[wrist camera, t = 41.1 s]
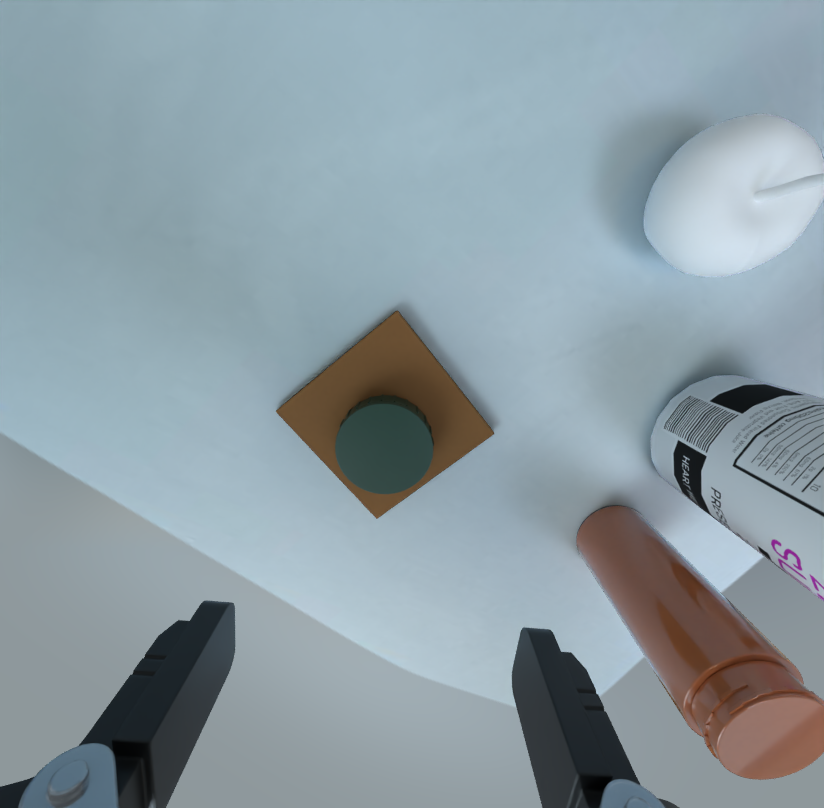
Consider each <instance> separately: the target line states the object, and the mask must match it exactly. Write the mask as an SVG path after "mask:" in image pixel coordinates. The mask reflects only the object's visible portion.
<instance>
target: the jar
mask: <svg viewBox="0 0 824 808" xmlns="http://www.w3.org/2000/svg"><path fill="white" fill-rule="evenodd" d="M576 544H577V549H578V552H579V554H580V556H581V557H582V559H583V560H584V562H585V563H586V565H587V567H588V568H589V570H590V571H591V573H592V574H593V576H594V578H595V579H596V581H597V582H598V584H599V585H600V587H601V589H602V590H603V592H604V593H605V595H606V597H607V598H608V600H609V601H610V603H611V604H612V606H613V608H614V609H615V611H616V612H617V614H618V615H619V617H620V619H621V620H622V622H623V623H624V625H625V626H626V628H627V630H628V631H629V633H630V634H631V636H632V637H633V639H634V641H635V642H636V644H637V645H638V647H639V648H640V650H641V652H642V653H643V655H644V656H645V658H646V659H647V661H648V663H649V664H650V666H651V667H652V669H653V670H654V672H655V674H656V675H657V677H658V678H659V680H660V681H661V683H662V685H663V686H664V688H665V689H666V691H667V692H668V694H669V696H670V697H671V699H672V700H673V702H674V704H675V705H676V706H677V708H678V710H679V711H680V713H681V714H682V716H683V718H684V719H685V721H686V722H687V724H688V725H689V727H690V728H691V729H692V730H694V731H695V732H696V733H697V734H698V735H700V736H702V737H704V740H705V744H706V745H707V747H708V748H709V750H710V751H711V753H712V754H713V755H714V756H715V757H716V758H717V759H719V761H720V762H721V763H722V765H723V766H724V767H725V768H727V769H728V770H729V771H730V772H732V773H734V774H736V775H738V776H741V777H744V778H749V779H758V780H763V779H774V778H779V777H783V776H787V775H790V774H792V773H795V772H797V771H799V770H801V769H803V768H805V767H807V766H808V765H810V764H811V763H813V762H814V761H815V760H816V759H818V757H820V756H821V755H822V754H823V752H824V701H823V700H822V699H821V698H820V697H819V696H817V695H816V694H815V693H814V692H812V691H809V690H808V689H807V688H806V687H805V686H804V683H803V678H802V676H801V674H800V672H799V671H798V669H797V668H796V666H794V664H792V663H791V662H790V661H789V660H788V659H787V658H786V657H785V656H784V655H783V654H782V653H781V652H780V651H779V650H778V649H777V648H776V647H775V646H774V645H773V644H772V643H771V642H770V641H769V640H768V639H767V638H766V637H765V636H764V635H763V634H762V633H761V632H760V631H759V630H758V629H757V628H756V627H755V626H754V625H753V624H752V623H751V622H750V621H749V620H748V619H747V618H746V617H745V616H744V615H743V614H742V613H741V612H740V611H738V609H737V608H736V607H735V606H734V605H733V604H732V603H731V602H730V601H729V600H728V599H727V598H726V597H725V596H724V595H723V594H722V593H720V592H719V591H718V590H717V589H716V588H715V587H714V586H713V585H712V584H711V583H710V582H709V581H708V580H707V579H706V578H705V577H704V576H703V575H702V574H701V573H700V572H699V571H698V570H697V569H696V568H695V567H694V566H693V565H692V564H691V563H690V562H689V561H688V560H687V559H686V558H685V557H684V556H683V555H682V554H681V553H680V552H679V551H678V550H677V549H676V548H675V547H674V546H673V545H672V544H671V543H670V542H669V541H668V540H667V539H666V538H665V537H664V536H663V535H662V534H661V533H660V532H659V531H658V530H657V529H656V528H655V527H654V526H653V525H652V524H650V523H649V522H648V521H647V520H646V519H645V518H644V517H643V516H642V515H641V514H640V513H639V512H638V511H636V510H634V509H632V508H629V507H625V506H609V507H605V508H602V509H600V510H598V511H596V512H594V513H593V514H591V515H590V516H589V517H588V518H587V519H586V520H585V521H584V522H583V523H582V525H581V527H580V528H579V531H578V534H577V539H576Z"/></svg>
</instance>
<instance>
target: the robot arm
mask: <svg viewBox="0 0 824 808" xmlns="http://www.w3.org/2000/svg"><path fill="white" fill-rule="evenodd" d="M234 653H235V606H234V603H229V602H218V601H204V602H203V603H201V605H200V606H199V608H198V609H197V611H196V612H195V614H194V615H193V617H192V618H191V620H190V621H180V620H178V621H177V622H175V623H174V624H173V625H172V626H170V627H169V628H168V629H167V630H165V631H164V632H163V633H162V634H160V635H159V636H158V638H157V639H156V640H155V642H154V643H153V645H152V646H151V647H150V649H149V650H148V651H147V653H146V654H145V657H144V659H142V660H141V661H140V662H139V664H138V665H137V667H136V668H135V670H134V672H133V674H132V675H130V676H129V678H128V679H127V680H126V682H125V683H124V685H123V686H122V687H121V689H120V690H119V692H118V693H117V694H116V696H115V697H114V699H113V700H112V701H111V703H110V704H109V705H108V707H107V708H106V710H105V711H104V712H103V714H102V715H101V717H100V718H99V719H98V721H97V722H96V723H95V725H94V726H93V728H92V729H91V731H90V732H89V733H88V735H87V736H86V737H85V739H84V740H83V741H82V742H81V744H80V745H79V746H77V747H75V748H72V749H70V750H68V751H66V752H64V753H62V754H61V755H59V756H58V757H56V758H55V759H53V760H52V761H51V762H49V764H47V765H46V766H45V767H44V768H42V769H41V770H40V771H39V772H38V773H37V775H36V776H35V777H33V778H30V779H27V780H24V781H21V782H17V783H13V784H10V785H6V786H2V787H0V808H166V806H167V804H168V802H169V800H170V797H171V795H172V793H173V791H174V789H175V787H176V785H177V782H178V780H179V778H180V776H181V774H182V772H183V770H184V768H185V765H186V763H187V761H188V759H189V757H190V755H191V753H192V751H193V748H194V746H195V744H196V742H197V740H198V738H199V736H200V733H201V731H202V729H203V727H204V725H205V723H206V721H207V718H208V716H209V714H210V712H211V710H212V708H213V706H214V704H215V701H216V699H217V697H218V695H219V693H220V691H221V689H222V686H223V684H224V682H225V680H226V678H227V676H228V674H229V671H230V669H231V666H232V662H233V658H234ZM512 688H513V695H514V699H515V703H516V707H517V710H518V714H519V718H520V722H521V726H522V730H523V734H524V738H525V741H526V745H527V749H528V753H529V756H530V761H531V765H532V768H533V772H534V776H535V780H536V784H537V788H538V792H539V796H540V800H541V803H542V807H543V808H665V806H664V805H663V804H662V803H661V802H660V801H659V799H658V798H656V796H654V795H653V794H652V793H651V792H650V791H648V790H647V789H646V788H644V787H643V786H641V785H640V783H639V781H638V779H637V777H636V775H635V773H634V771H633V769H632V767H631V764H630V762H629V760H628V758H627V756H626V754H625V752H624V749H623V747H622V745H621V743H620V741H619V739H618V736H617V734H616V732H615V730H614V728H613V726H612V724H611V721H610V719H609V717H608V715H607V713H606V712H605V711H604V706H603V704H602V702H601V700H600V698H599V696H598V694H596V689H595V687H594V685H593V683H592V681H591V679H590V676H589V674H588V672H587V670H586V669H585V668H584V667H583V666H582V664H581V663H580V662H579V661H578V660H577V659H576V658H575V656H574V655H573V654H572V653H569V652H561V651H560V648H559V646H558V643H557V641H556V639H555V636H554V634H553V632H552V631H551V630H549V629H536V628H522V630H521V633H520V638H519V642H518V647H517V651H516V656H515V660H514V665H513V670H512Z"/></svg>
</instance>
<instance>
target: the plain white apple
mask: <svg viewBox="0 0 824 808" xmlns="http://www.w3.org/2000/svg"><path fill="white" fill-rule="evenodd" d="M823 199H824V160H823V156H822V153H821V150H820V148H819V146H818V144H817V142H816V140H815V139H814V138H813V137H812V136H811V135H810V134H809V133H808V132H806V131H805V130H804V129H803V128H801V127H799V126H798V125H796V124H794V123H793V122H791V121H789V120H787V119H785V118H783V117H780V116H777V115H770V114H752V115H746V116H740V117H736V118H732V119H729V120H726V121H723V122H721V123H718V124H715V125H712V126H710V127H708V128H707V129H705V130H703V131H702V132H700V133H698V134H697V135H695V136H693V137H692V138H690V139H689V140H688V141H687V142H686V143H685V144H684V145H683V146H682V147H681V148H680V149H678V150H677V151H676V152H675V154H674V155H673V156H672V157H671V158H670V160H669V161H668V162H667V163H666V165H665V166H664V167H663V168H662V170H661V172H660V174H659V175H658V177H657V179H656V180H655V182H654V184H653V186H652V189H651V191H650V194H649V196H648V199H647V202H646V205H645V211H644V224H643V225H644V232H645V235H646V237H647V239H648V241H649V242H650V244H651V245H652V246H653V247H654V249H655V250H656V251H657V252H658V253H659V254H660V256H661V257H662V258H663V259H664V260H665V261H666V262H667V263H668V264H670V265H671V266H672V267H674V268H676V269H677V270H679V271H681V272H683V273H686V274H690V275H695V276H700V277H725V276H730V275H736V274H740V273H743V272H745V271H748V270H750V269H753V268H755V267H757V266H759V265H761V264H763V263H765V262H767V261H769V260H771V259H773V258H775V257H776V256H778V255H779V254H780V253H782V252H783V251H785V250H786V249H788V248H789V247H790V246H792V244H793V243H794V242H795V241H796V240H797V239H798V238H799V236H800V235H801V234H802V233H803V232H804V230H805V229H806V227H807V226H808V224H809V223H810V221H811V220H812V218H813V217H814V215H815V214H816V212H817V210H818V209H819V207H820V205H821V204H822V201H823Z"/></svg>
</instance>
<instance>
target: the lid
mask: <svg viewBox="0 0 824 808" xmlns="http://www.w3.org/2000/svg"><path fill="white" fill-rule="evenodd" d="M339 427H340V429H339V431H338V433H337V436H336V443H335V454H336V459H337V462H338V465H339V467H340V469H341V470H342V472H343V474H344V475H345V476H346V477H347V478H348V479H349V480H350V481H351V482H352V483H353V484H355V485H356V486H357V487H359V488H361V489H363V490H365V491H368V492H372V493H376V494H394V493H398V492H402V491H404V490H407V489H409V488H411V487H412V486H414V485H415V484H416V483H417V482H419V481H420V480H421V479H422V478H423V476H424V475H425V474H426V472H427V471H428V469H429V467H430V464H431V461H432V458H433V446H434V441H433V437H432V435H431V434H432V429H431V425H430V426H429V423H428V421H427V419H426V415H424V414H423V413H422V412H421V411H420V410H419V409H418V406H415V405H414V404H412V403H411V402H409V401H408V400H407V399H406V400H405V399H403V398H400V397H396V395H394V396H390V395H384V394H382V395H381V396H374V397H371V396H370V397H369V398H368V399H365V400H363V401H361V402H360V401H359V402H358V404H357V405H355V406H354V407H353V408H352V409H350V410H349V411H348V413H347V415H346V417H345V419H343V420H342V422H341V424H340V426H339Z"/></svg>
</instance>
